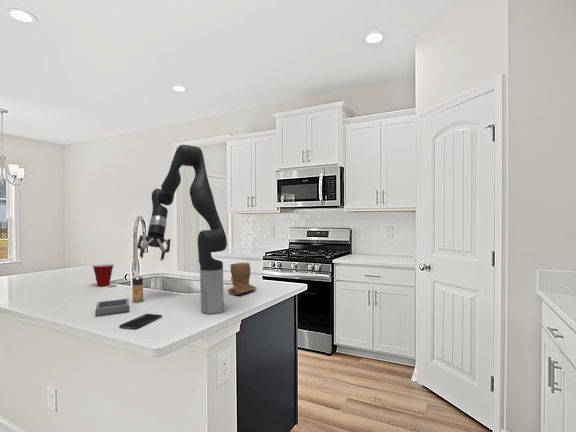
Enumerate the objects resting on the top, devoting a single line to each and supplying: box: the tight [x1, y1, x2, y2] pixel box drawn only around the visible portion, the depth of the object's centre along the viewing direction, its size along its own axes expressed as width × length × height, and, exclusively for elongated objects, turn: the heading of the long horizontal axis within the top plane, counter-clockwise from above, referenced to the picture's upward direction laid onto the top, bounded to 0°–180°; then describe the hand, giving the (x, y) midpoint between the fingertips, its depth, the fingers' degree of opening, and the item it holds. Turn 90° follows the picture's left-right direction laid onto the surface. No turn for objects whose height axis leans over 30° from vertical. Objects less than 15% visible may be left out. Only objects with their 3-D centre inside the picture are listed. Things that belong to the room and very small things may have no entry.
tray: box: [95, 298, 130, 318], centre depth 145 cm, size 12×12×3 cm
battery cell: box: [131, 275, 144, 304], centre depth 159 cm, size 4×4×12 cm
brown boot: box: [227, 262, 257, 296], centre depth 174 cm, size 15×12×15 cm
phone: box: [118, 313, 163, 331], centre depth 129 cm, size 8×1×15 cm
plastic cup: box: [92, 263, 115, 288], centre depth 195 cm, size 11×11×12 cm
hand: (151, 258), depth 160 cm, fingers open, 8 cm apart
